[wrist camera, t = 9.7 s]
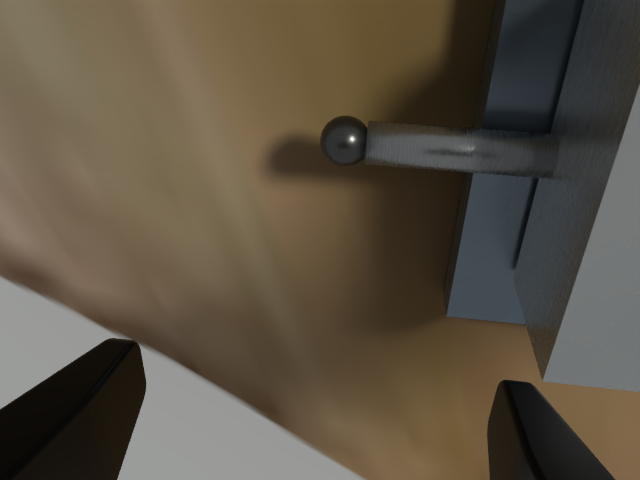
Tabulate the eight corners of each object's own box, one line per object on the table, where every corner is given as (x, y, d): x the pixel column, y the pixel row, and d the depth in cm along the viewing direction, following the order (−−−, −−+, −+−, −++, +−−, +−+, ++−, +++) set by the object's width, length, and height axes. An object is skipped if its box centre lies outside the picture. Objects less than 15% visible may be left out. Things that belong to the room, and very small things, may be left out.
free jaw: (695, -24, 13) (815, 11, 10) (588, 284, 18) (640, 392, 14) (329, -42, 14) (302, -16, 10) (318, 259, 19) (297, 354, 15)
